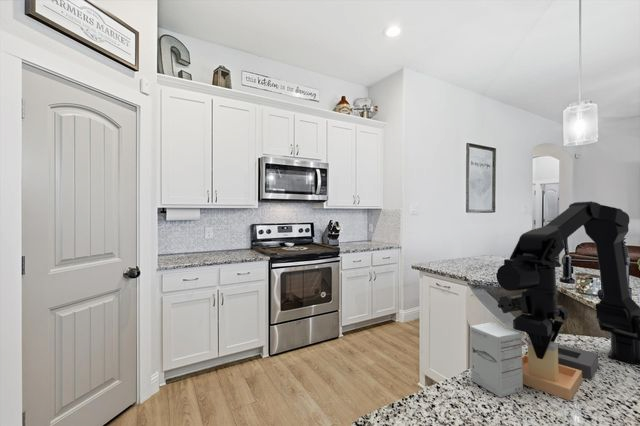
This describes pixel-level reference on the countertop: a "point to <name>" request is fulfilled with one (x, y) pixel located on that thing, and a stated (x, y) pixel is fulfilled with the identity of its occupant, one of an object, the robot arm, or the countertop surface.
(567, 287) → the countertop surface
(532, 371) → the block
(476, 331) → the supplement box
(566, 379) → the parts tray
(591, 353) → the gray rectangular frame
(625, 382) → the countertop surface
